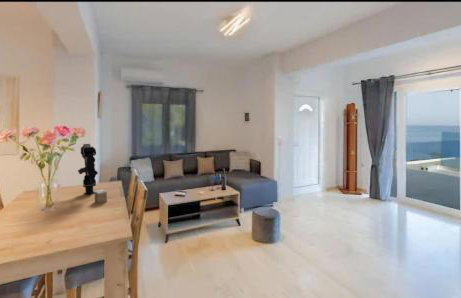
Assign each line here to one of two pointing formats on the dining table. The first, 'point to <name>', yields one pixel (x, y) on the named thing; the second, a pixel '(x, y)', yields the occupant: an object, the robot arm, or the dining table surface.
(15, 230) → the dining table surface
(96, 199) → the polished metal block
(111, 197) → the dining table surface
